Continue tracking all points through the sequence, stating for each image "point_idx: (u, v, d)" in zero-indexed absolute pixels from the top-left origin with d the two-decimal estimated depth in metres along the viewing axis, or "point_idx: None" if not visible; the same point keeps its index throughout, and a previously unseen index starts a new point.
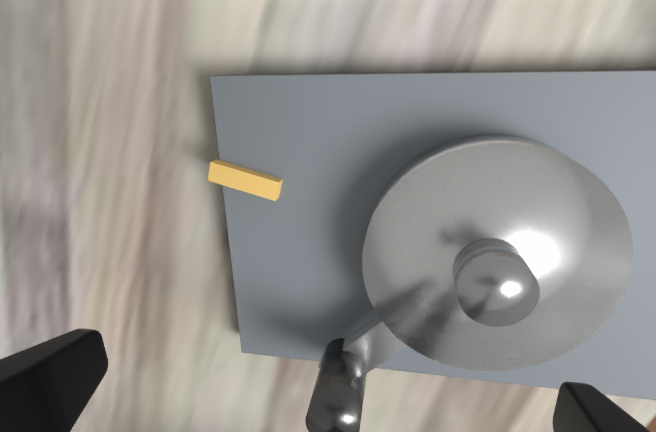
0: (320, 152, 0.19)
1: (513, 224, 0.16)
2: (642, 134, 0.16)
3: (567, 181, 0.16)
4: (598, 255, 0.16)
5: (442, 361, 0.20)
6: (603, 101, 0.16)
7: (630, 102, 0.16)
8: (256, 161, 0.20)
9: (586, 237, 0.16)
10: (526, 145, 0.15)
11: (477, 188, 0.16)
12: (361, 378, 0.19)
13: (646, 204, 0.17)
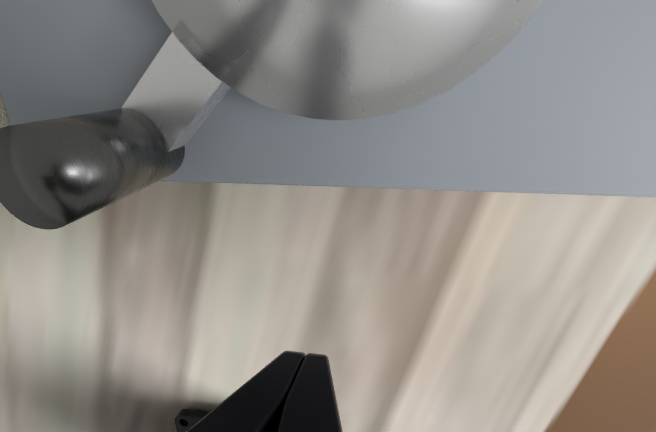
0: None
1: None
2: None
3: None
4: None
5: (283, 107, 0.11)
6: None
7: None
8: None
9: None
10: None
11: None
12: (134, 135, 0.11)
13: None
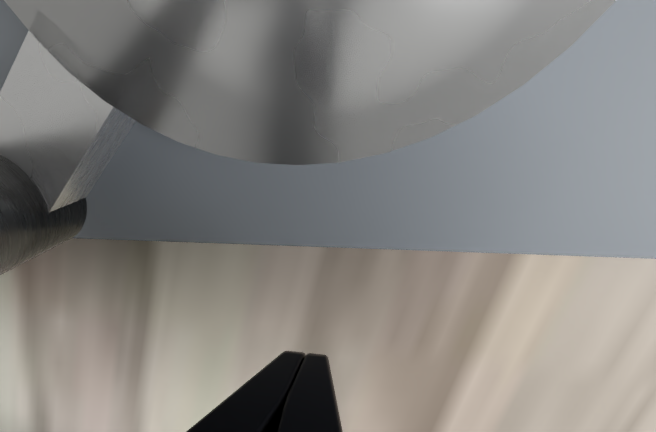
0: None
1: None
2: None
3: None
4: None
5: (211, 146, 0.07)
6: None
7: None
8: None
9: None
10: None
11: None
12: None
13: None
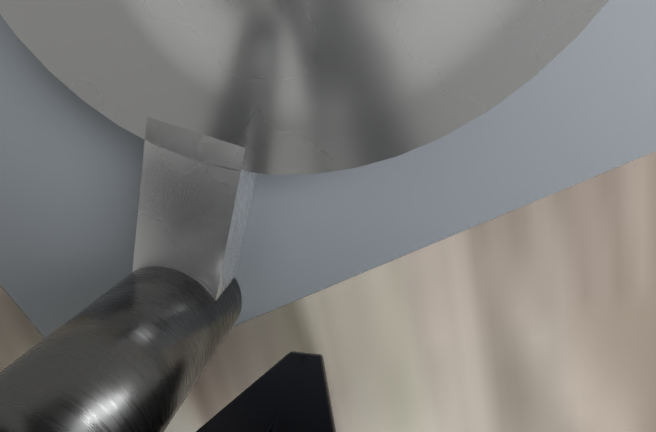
0: None
1: None
2: None
3: None
4: None
5: (346, 162, 0.07)
6: None
7: None
8: None
9: None
10: None
11: None
12: (157, 309, 0.07)
13: None
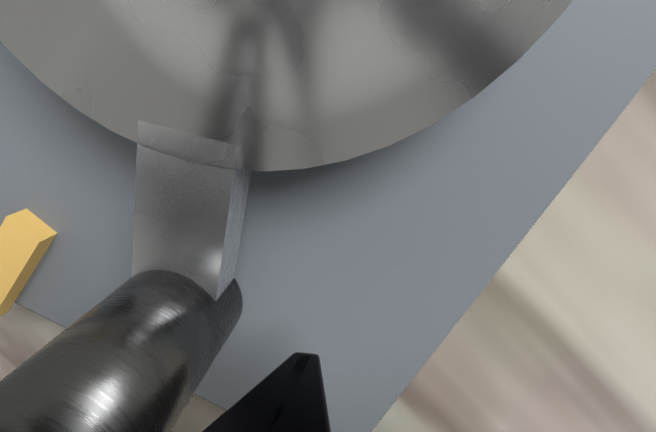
0: None
1: None
2: None
3: None
4: None
5: (338, 155, 0.07)
6: None
7: None
8: None
9: None
10: None
11: None
12: (157, 311, 0.07)
13: None
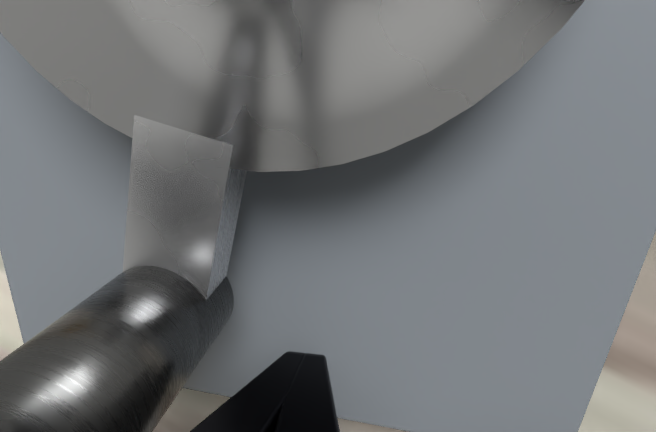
0: (105, 217, 0.10)
1: None
2: None
3: None
4: None
5: (333, 158, 0.06)
6: None
7: None
8: None
9: None
10: None
11: None
12: (146, 308, 0.07)
13: None
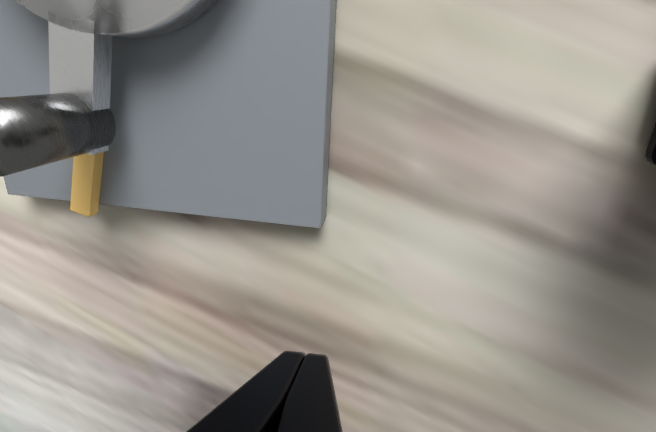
0: (49, 89, 0.18)
1: None
2: None
3: None
4: None
5: (138, 24, 0.14)
6: None
7: None
8: (72, 162, 0.19)
9: None
10: None
11: None
12: (55, 99, 0.14)
13: None
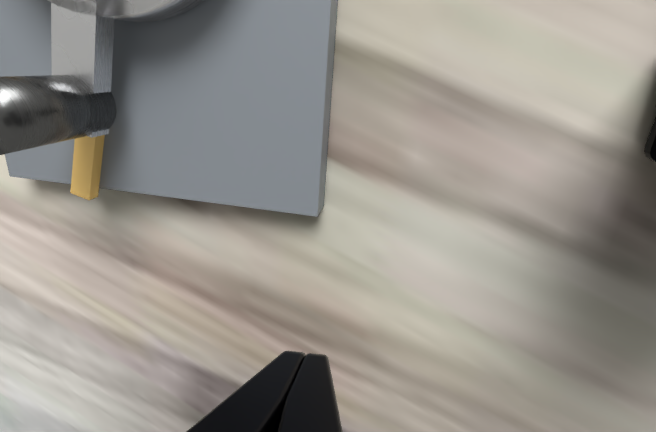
0: (51, 72, 0.18)
1: None
2: None
3: None
4: None
5: (140, 7, 0.14)
6: None
7: None
8: (73, 145, 0.19)
9: None
10: None
11: None
12: (56, 80, 0.14)
13: None
